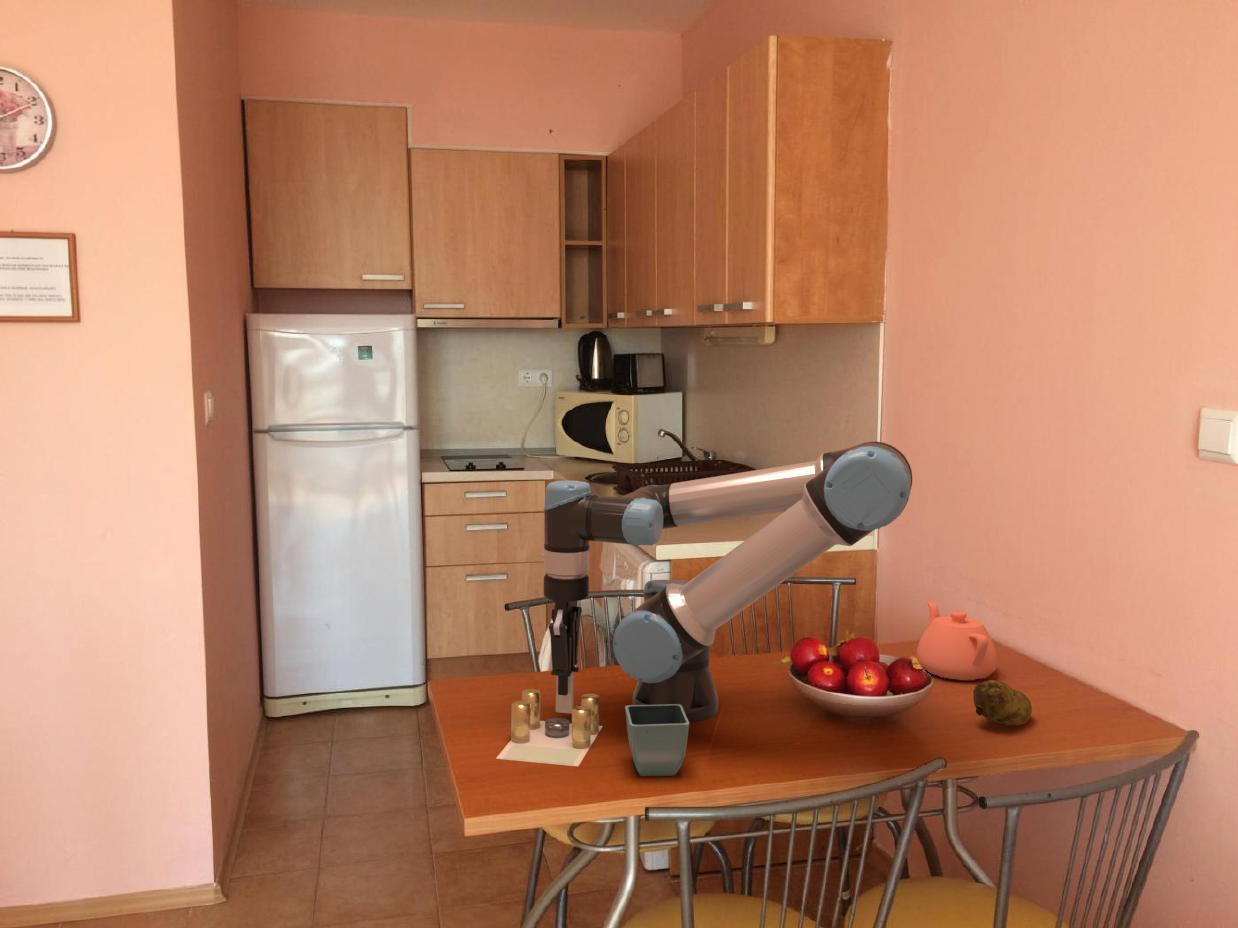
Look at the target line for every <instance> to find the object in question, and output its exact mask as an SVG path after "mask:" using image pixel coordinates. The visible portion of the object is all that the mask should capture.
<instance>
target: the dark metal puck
mask: <svg viewBox="0 0 1238 928" xmlns="http://www.w3.org/2000/svg"><path fill="white" fill-rule="evenodd" d="M544 721H545V735H546V736H547V737H550V738H564V737H567V736H568V735H569V723H570V720H569V719H567V718H564V717H552V718H547V719H545V720H544Z"/></svg>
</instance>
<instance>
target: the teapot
mask: <svg viewBox="0 0 1238 928" xmlns="http://www.w3.org/2000/svg"><path fill="white" fill-rule="evenodd" d="M926 603H927V606H928V609H929V610H928V611H929V617H928V623H927V628H926V629H925V630H924V632H923V634H922V635H921V638H920V640H919V642H918V645H917V650H916V659H917V658H918V660H917V661H918V663H919V662H920V663H919V665H920V664H921V665H923V667H924V668H925V669H926V670H927V671H928V672H930V673H932V674H935V675H938V676H942V677H946V678H952V679H963V680H962V681H966V680H965V679H979V678H984V679H986V678H985V677H987V676H988V677H990V676H991V675H992V674H993V673H994V671H996V669H997V666H998V655H997V650H996V647H995V643H994V642H993V640H992V638H991V636H990V634H989V632H988V630H987V629H986V626H984V624H983V623H982V622H981V621H979V620H977V619H975V618H970V617H967V615H968V613H967V612H965V611H959V610H958V611H957V610H953V611H950V615H948V616H947V615H946V616H943V615H942V616H940V611H939V609H938V605H937V604H936V603H934V602H933V601H932V600H929V599H927V600H926ZM921 665H920V666H921ZM923 667H922V668H923ZM924 668H923V669H924ZM927 671H926V672H927ZM928 672H927V673H928ZM930 673H929V674H930ZM932 674H931V675H932ZM990 674H991V675H990ZM935 675H934V676H935ZM938 676H937V677H938ZM942 677H941V678H942ZM988 677H987V678H988ZM946 678H945V679H946Z"/></svg>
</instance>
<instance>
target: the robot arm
mask: <svg viewBox="0 0 1238 928" xmlns="http://www.w3.org/2000/svg"><path fill="white" fill-rule="evenodd" d="M912 486H913V471H912V467H911V464H910V462H909V461H908V459H907V458H906V456H905V454H904V453H902V451H901V450H899V449H898V448H896V447H895V446H893V445H891V444H890V443H889V444H888V443H886V442H884V441H883V442H882V441H866V442H863V443H859V444H856V445H854V446H851V447H848V448H844V449H840V450H834V451H832V452H831V451H830V452H825V453H821V454H820V456H819V457H818V458H817V459H816V460H813V461H807V462H801V463H794V464H788V465H782V466H781V465H780V466H775V467H769V468H762V469H756V470H750V471H749V470H748V471H742V472H737V473H731V474H730V473H729V474H725V475H724V474H723V475H718V476H711V477H705V478H699V479H693V480H687V481H680V482H679V481H678V482H673V483H671V484H670V483H669V484H661V485H660V484H659V485H657V484H656V485H655V484H650V485H646V486H642V487H639V488H637V489H636V490H634V491H632V492H629V493H627V494H625V495H623V496H608V495H605V496H603V495H596V494H592V491H591V485H590V483H588V482H586V481H580V480H556V481H552V482H550V483H548V484H547V485H546V487H545V495H544V506H543V512H544V513H543V515H544V516H543V517H544V518H543V519H544V521H543V523H544V526H543V527H544V528H543V529H544V544H543V545H544V546H543V548H544V552H542V553H541V555H540V557H541V558H542V560H544V561H543V563H544V564H543V571H544V572H545V573H546V574H545V575H544V576H543V597H545V598H546V600H547V599H548V600H549V601H550V600H551V601H553V602H554V609H552V610H551V620H552V622H549V624H548V631H549V636H550V648H551V649H550V650H551V651H550V653H551V668H552V670H551V672H550V675H551V676H555V713H561V714H572V708H573V707H574V703H575V702H574V688H575V686H574V685H575V673H579V670H580V667H576V666H578V665H577V664H578V661H579V660H578V656H579V653H578V652H579V643H580V642H579V640H580V627H581V626H580V625H581V616H582V612H583V609H582V607H581V606H578V602H581V601H582V600H586V599H587V598H588V596H589V593H590V590H589V589H590V587H589V586H590V577H589V576H588V573H589V572H590V542H600V543H612V544H621V545H631V546H636V547H638V546H654V545H656V544H658V542H659V541H660V537H661V536H662V533H663V530H664V529H665V530H666V529H672V528H677V527H683V526H691V525H697V524H704V523H706V524H707V523H711V522H712V523H713V522H718V521H719V522H720V521H728V520H733V519H741V518H749V517H757V516H763V515H771V514H777V513H781V514H779V515H778V516H776V517H775V518H774V519H772V520H771V521H770V522H769V523H767V524H766V525H764V526H763V527H762V528H760V529H759V530H758V531H756V532H755V533H753V534H752V535H751V536H749V537H748V538H747V539H745V540H744V541H742V542H741V543H739V544H738V545H737V546H736V547H734V548H733V549H732V550H730V551H729V552H728V553H726V554H725V555H723V556H722V557H720V558H719V559H718V560H717V561H714V563H712V564H711V565H709V567H707V568H706V569H704V570H703V571H702V572H700V573H699V574H697V575H696V576H695V577H693V578H692V579H691V580H680V579H679V580H678V579H652V580H648V581H646V583H645V584H644V588H643V592H642V595H643V602H642V603H641V604H640V605H639V606H638V607H637V608H635V609H634V610H633V611H631V612H629V613H628V614H626V615H624V616H623V617H622V618H621V620H620V621H619V622H618V624H617V627H616V628H615V630H614V633H613V638H612V639H613V640H612V649H613V654H614V657H615V660H616V661H617V663H618V665H619V667H620V668H621V669H622V670H623V671H624V672H625V673H626V674H627V675H628V676H629V677H631V678H632V679H634V680H636V681H637V682H636V684H635V689H634V691H633V694H632V705H666V704H680V705H682V707H683V710H684V712H685V715H686V717H687V719H688V721H689V723H696V722H697V723H698V722H701V721H705V720H708V719H710V718H713V717H714V716H715V715H716V714H718V711H719V696H718V693H717V689H716V686H715V683H714V679H713V676H712V673H711V670H710V649H711V647H710V646H712V645H713V644H714V642H715V638H716V630H717V629H719V628H720V627H721V626H723V625H724V624H726V623H727V622H728V621H730V620H731V619H733V618H734V617H735V616H737V615H738V614H740V613H741V612H742V611H744V610H745V609H747V608H748V607H750V606H751V605H753V604H754V603H755V602H758V600H759V599H762V598H763V597H764V596H766V595H767V594H768V593H770V592H771V591H772V590H774V589H775V588H777V586H779V585H780V584H782V583H783V582H785V581H786V580H787V579H789V578H791V577H792V576H794V574H797V573H798V572H799V571H800V570H802V569H803V568H805V567H806V566H807V565H809V564H810V563H812V562H814V561H815V560H817V558H819V557H820V556H822V555H823V554H825V553H826V552H827V551H829V550H830V549H832V548H833V547H835V546H837V545H839V546H846V547H852V546H853V545H855V544H856V543H858V542H859V541H861V540H862V539H864V538H865V537H866V536H868V535H869V534H871V533H872V532H873V531H875V530H878V529H881V528H883V527H887V526H888V525H890V524H891V523H893V522H894V521H895V520H897V518H898V517H900V515H901V514H902V513H903V511H904V510H905V508H906V507H907V504H908V503H909V499H910V495H911V490H912Z"/></svg>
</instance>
